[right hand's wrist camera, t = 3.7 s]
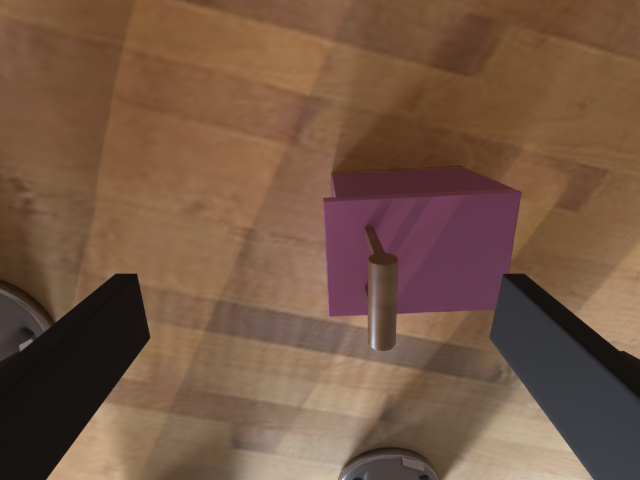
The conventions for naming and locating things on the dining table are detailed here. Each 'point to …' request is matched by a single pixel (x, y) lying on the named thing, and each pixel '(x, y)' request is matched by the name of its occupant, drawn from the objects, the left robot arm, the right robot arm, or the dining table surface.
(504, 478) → the dining table surface
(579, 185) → the dining table surface
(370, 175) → the chest
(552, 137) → the dining table surface
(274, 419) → the dining table surface
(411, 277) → the lid
